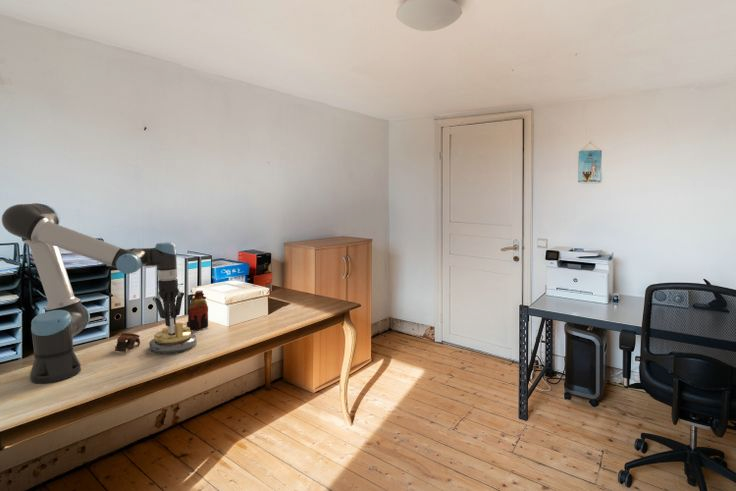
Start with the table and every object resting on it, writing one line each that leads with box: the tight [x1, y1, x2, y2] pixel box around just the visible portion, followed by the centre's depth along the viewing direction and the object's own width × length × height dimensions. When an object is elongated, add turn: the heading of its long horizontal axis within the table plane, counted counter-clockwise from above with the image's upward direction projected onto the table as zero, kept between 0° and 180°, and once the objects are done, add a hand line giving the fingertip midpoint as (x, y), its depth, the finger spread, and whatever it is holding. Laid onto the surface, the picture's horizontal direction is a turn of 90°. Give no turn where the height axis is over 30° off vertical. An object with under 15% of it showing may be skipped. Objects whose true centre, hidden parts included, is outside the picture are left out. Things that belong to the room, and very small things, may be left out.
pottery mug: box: [114, 332, 141, 353], centre depth 179 cm, size 12×10×8 cm
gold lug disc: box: [153, 321, 192, 345], centre depth 182 cm, size 15×15×9 cm
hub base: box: [149, 325, 197, 355], centre depth 182 cm, size 19×19×9 cm
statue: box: [186, 290, 209, 332], centre depth 206 cm, size 12×8×20 cm, turn 124°
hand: (171, 332), depth 175 cm, fingers closed
